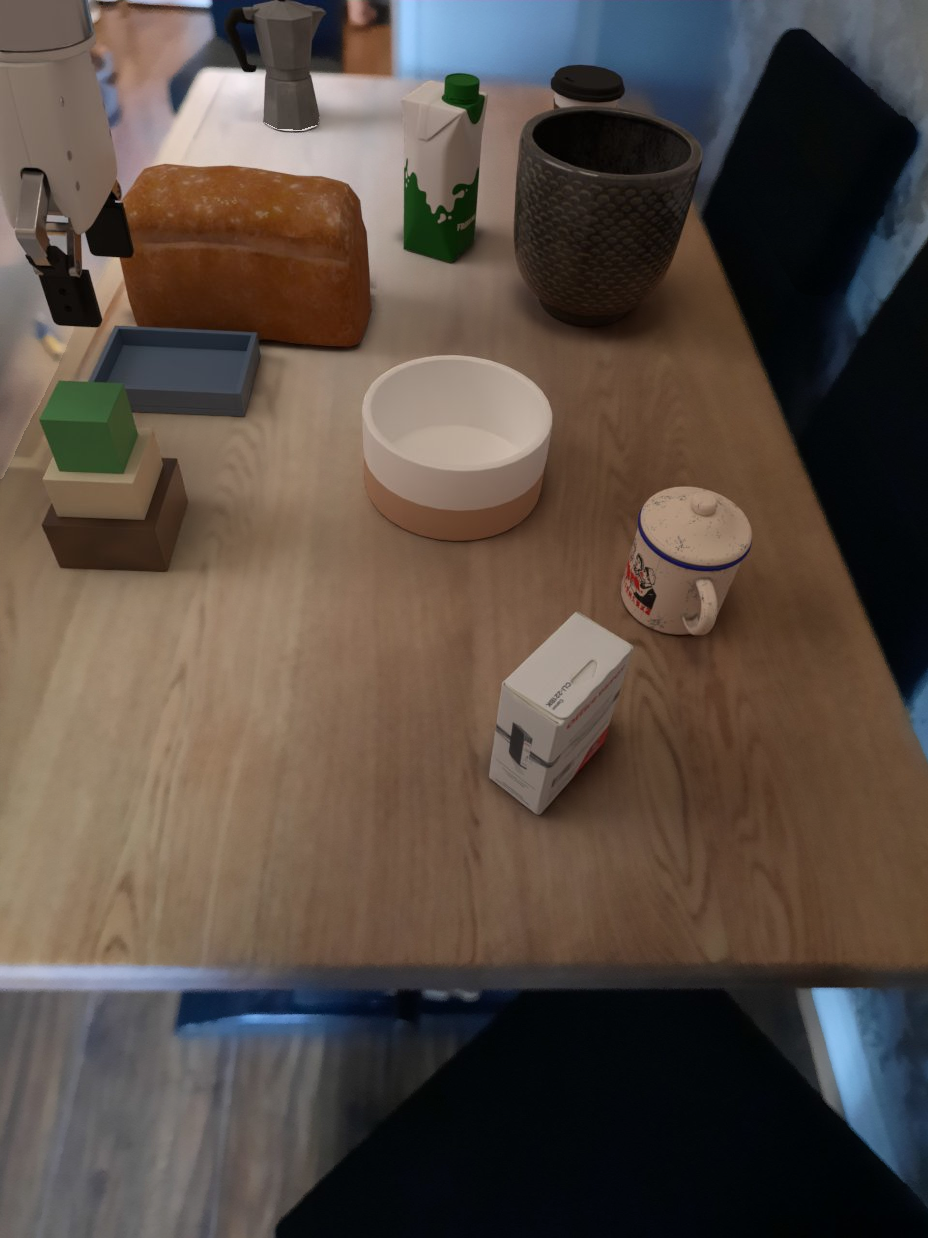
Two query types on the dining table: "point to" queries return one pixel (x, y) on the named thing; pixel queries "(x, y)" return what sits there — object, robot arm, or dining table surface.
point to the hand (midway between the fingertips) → (97, 287)
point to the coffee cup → (586, 86)
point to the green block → (89, 426)
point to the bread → (248, 254)
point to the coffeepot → (281, 58)
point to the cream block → (109, 485)
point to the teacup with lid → (684, 559)
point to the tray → (181, 369)
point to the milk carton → (442, 165)
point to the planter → (600, 208)
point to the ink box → (557, 710)
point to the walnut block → (123, 532)
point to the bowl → (455, 446)
